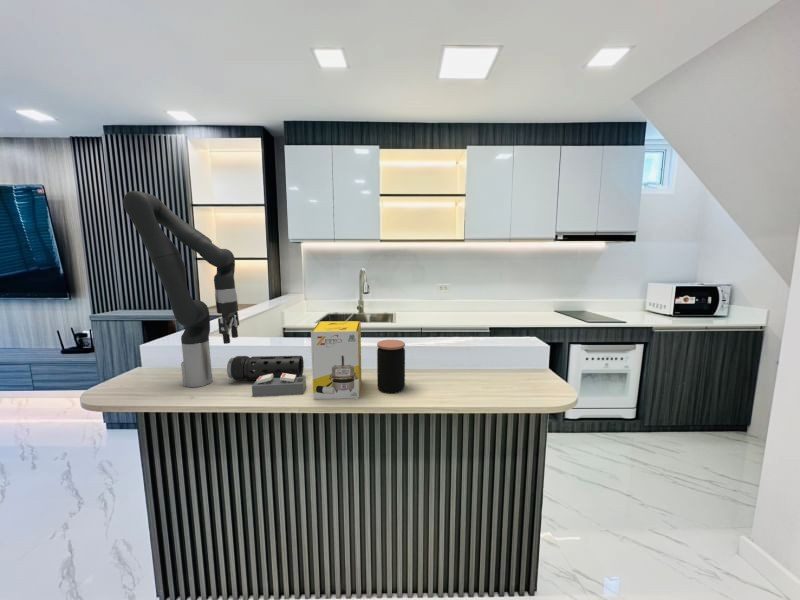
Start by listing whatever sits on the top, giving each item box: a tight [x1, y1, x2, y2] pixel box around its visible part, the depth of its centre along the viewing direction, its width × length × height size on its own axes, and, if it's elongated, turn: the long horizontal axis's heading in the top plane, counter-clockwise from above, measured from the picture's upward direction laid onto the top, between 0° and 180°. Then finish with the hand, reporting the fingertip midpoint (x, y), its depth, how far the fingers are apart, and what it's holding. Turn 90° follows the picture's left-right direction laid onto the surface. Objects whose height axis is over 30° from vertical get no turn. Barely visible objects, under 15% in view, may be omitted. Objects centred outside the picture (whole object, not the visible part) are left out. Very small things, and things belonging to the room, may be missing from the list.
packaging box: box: [310, 320, 362, 401], centre depth 125 cm, size 16×16×25 cm
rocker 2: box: [280, 373, 296, 382], centre depth 125 cm, size 5×4×1 cm
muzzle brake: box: [226, 355, 305, 382], centre depth 135 cm, size 10×28×10 cm, turn 94°
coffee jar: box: [376, 339, 406, 394], centre depth 127 cm, size 11×11×18 cm
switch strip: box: [251, 376, 307, 398], centre depth 125 cm, size 18×7×4 cm, turn 97°
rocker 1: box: [257, 373, 274, 384], centre depth 123 cm, size 5×4×1 cm
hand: (231, 340), depth 132 cm, fingers open, 8 cm apart
